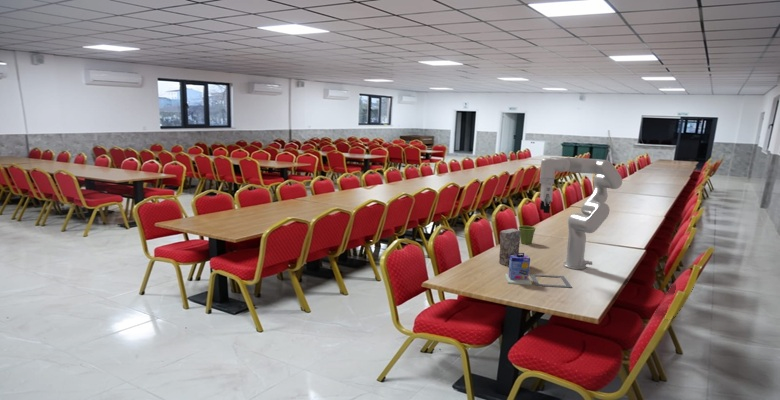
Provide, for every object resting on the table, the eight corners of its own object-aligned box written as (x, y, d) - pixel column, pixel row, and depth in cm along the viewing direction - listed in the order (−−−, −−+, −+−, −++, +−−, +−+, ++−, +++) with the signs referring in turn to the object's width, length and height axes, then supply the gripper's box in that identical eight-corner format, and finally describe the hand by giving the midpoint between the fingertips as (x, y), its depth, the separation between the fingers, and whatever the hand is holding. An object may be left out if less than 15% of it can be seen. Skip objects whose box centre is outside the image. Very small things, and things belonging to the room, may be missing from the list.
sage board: (527, 276, 260) (527, 274, 260) (531, 284, 246) (531, 283, 246) (504, 274, 261) (504, 273, 261) (507, 283, 247) (508, 281, 247)
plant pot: (520, 240, 339) (521, 224, 337) (537, 243, 332) (538, 227, 330) (514, 243, 330) (515, 227, 328) (531, 246, 323) (532, 230, 321)
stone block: (507, 266, 277) (510, 232, 274) (497, 263, 282) (499, 230, 278) (519, 261, 286) (521, 229, 283) (509, 259, 291) (511, 227, 288)
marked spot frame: (563, 276, 260) (563, 276, 260) (572, 287, 243) (572, 287, 243) (529, 274, 262) (530, 274, 262) (535, 285, 245) (535, 285, 245)
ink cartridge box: (510, 279, 251) (512, 253, 248) (507, 276, 256) (509, 250, 254) (529, 280, 251) (531, 253, 248) (525, 276, 256) (527, 250, 254)
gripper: (557, 183, 253) (554, 214, 256) (550, 179, 270) (548, 208, 273) (543, 182, 254) (540, 214, 257) (537, 178, 271) (534, 208, 274)
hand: (544, 211), depth 265 cm, fingers open, 9 cm apart
